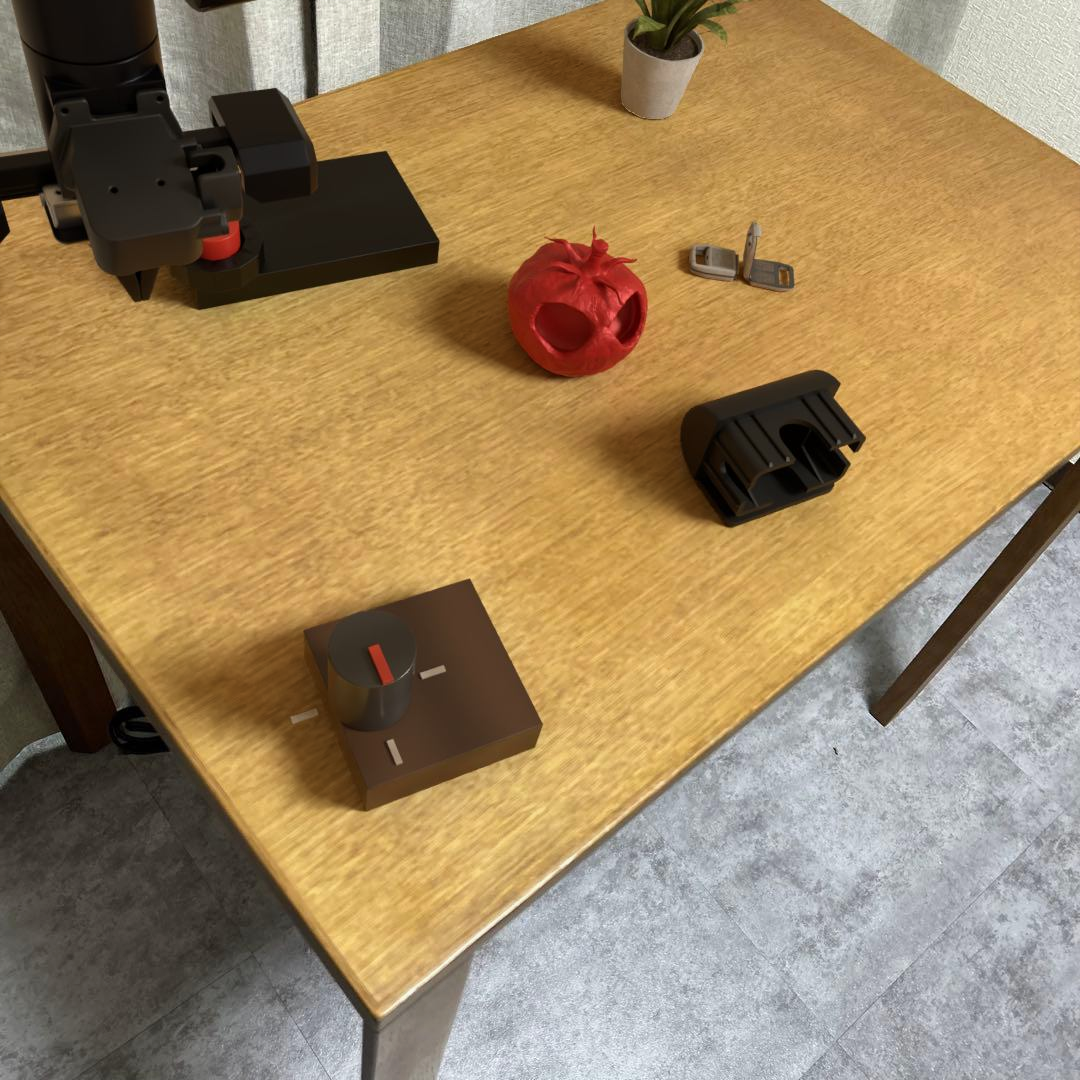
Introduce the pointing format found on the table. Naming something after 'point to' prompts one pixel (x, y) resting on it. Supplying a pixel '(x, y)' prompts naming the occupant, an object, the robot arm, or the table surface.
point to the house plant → (665, 52)
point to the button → (222, 244)
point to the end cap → (769, 446)
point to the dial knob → (371, 670)
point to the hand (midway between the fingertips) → (139, 296)
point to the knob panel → (435, 700)
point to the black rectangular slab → (320, 236)
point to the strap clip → (727, 264)
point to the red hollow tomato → (576, 307)
